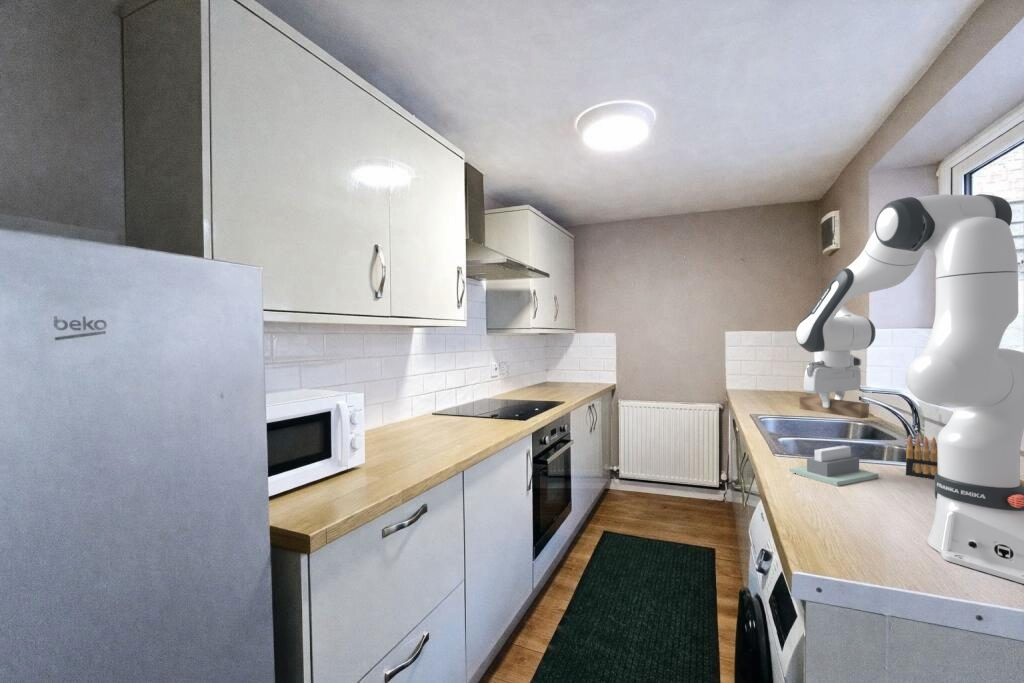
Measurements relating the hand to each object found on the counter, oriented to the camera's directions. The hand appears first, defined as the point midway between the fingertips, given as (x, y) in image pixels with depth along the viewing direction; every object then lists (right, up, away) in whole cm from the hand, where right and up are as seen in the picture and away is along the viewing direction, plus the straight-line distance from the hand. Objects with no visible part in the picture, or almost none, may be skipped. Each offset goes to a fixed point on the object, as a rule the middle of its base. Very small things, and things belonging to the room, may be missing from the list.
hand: (832, 406), depth 136 cm
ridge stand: (0, -20, 0) cm, 20 cm away
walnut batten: (0, -2, 0) cm, 2 cm away
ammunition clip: (+26, -20, -4) cm, 33 cm away
